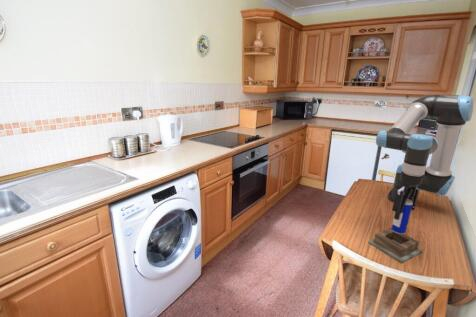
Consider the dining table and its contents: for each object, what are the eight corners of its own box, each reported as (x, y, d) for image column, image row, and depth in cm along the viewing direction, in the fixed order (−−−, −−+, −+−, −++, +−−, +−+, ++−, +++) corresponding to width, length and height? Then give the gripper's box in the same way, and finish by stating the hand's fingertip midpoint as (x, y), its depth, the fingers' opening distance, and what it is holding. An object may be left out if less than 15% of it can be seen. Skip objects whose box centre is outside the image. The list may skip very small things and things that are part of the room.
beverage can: (400, 227, 110) (407, 197, 106) (408, 234, 105) (416, 202, 101) (388, 227, 110) (395, 197, 106) (396, 234, 105) (403, 203, 101)
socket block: (388, 234, 120) (390, 225, 119) (422, 252, 107) (425, 242, 106) (368, 242, 114) (370, 233, 112) (401, 263, 101) (404, 253, 99)
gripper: (415, 167, 107) (403, 214, 114) (389, 173, 99) (378, 224, 106) (435, 172, 100) (421, 222, 107) (408, 180, 92) (395, 233, 100)
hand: (400, 223), depth 107 cm, fingers closed on beverage can, 5 cm apart
